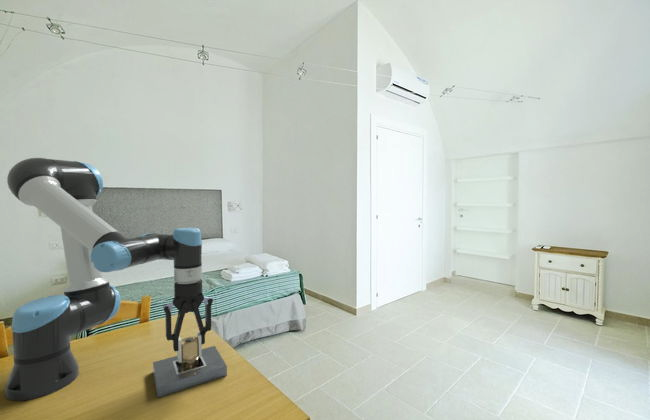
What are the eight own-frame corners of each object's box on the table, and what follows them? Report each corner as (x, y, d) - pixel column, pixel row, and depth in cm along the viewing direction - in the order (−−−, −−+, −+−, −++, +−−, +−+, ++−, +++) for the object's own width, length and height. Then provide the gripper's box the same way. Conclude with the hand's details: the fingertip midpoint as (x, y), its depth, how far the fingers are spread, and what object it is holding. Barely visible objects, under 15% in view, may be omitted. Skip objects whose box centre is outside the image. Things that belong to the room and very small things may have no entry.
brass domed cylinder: (179, 368, 90) (179, 338, 90) (196, 363, 93) (196, 334, 93) (182, 376, 86) (181, 345, 86) (200, 371, 89) (199, 340, 89)
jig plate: (153, 371, 91) (152, 361, 90) (214, 354, 101) (214, 345, 101) (157, 397, 79) (157, 386, 79) (226, 375, 89) (226, 365, 89)
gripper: (154, 288, 80) (156, 373, 82) (222, 278, 90) (223, 354, 91) (152, 282, 87) (154, 361, 88) (216, 273, 97) (217, 344, 98)
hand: (189, 357), depth 90 cm, fingers closed on brass domed cylinder, 5 cm apart
